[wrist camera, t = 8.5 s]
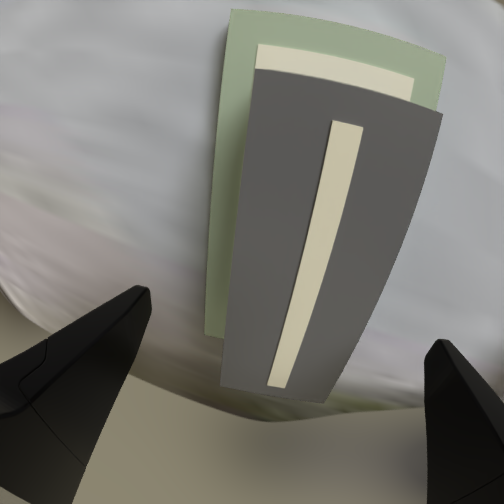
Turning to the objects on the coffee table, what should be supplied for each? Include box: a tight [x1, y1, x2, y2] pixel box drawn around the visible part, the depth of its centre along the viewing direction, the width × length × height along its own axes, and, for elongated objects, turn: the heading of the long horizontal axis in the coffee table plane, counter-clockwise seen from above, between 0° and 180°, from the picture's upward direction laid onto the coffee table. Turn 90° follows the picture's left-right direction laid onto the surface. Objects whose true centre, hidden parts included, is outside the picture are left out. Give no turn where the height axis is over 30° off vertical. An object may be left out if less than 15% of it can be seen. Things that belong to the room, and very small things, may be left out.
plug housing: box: [220, 68, 443, 403], centre depth 12 cm, size 5×13×5 cm, turn 173°
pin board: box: [204, 9, 446, 339], centre depth 14 cm, size 9×18×4 cm, turn 173°
